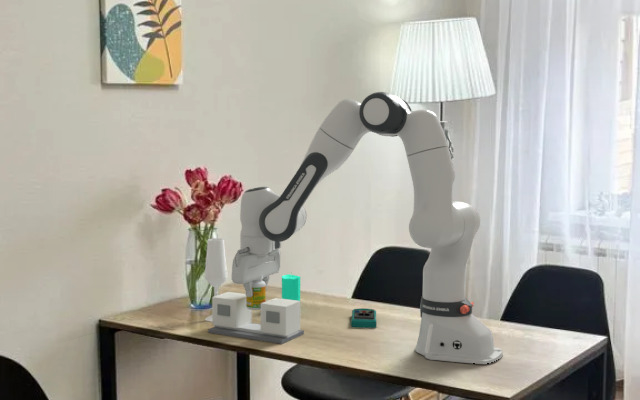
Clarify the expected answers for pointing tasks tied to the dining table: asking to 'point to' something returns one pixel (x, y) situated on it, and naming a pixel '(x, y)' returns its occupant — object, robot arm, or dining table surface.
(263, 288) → the supplement bottle
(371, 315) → the digital multimeter
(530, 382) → the dining table surface
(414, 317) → the dining table surface
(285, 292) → the candle
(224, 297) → the board
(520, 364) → the dining table surface
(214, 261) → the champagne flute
